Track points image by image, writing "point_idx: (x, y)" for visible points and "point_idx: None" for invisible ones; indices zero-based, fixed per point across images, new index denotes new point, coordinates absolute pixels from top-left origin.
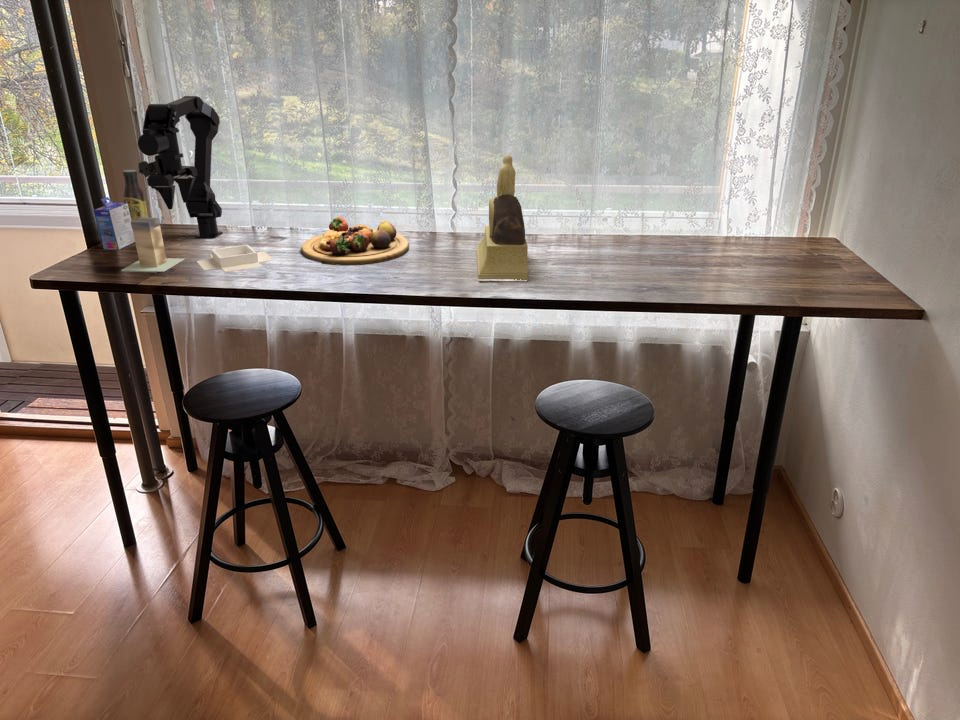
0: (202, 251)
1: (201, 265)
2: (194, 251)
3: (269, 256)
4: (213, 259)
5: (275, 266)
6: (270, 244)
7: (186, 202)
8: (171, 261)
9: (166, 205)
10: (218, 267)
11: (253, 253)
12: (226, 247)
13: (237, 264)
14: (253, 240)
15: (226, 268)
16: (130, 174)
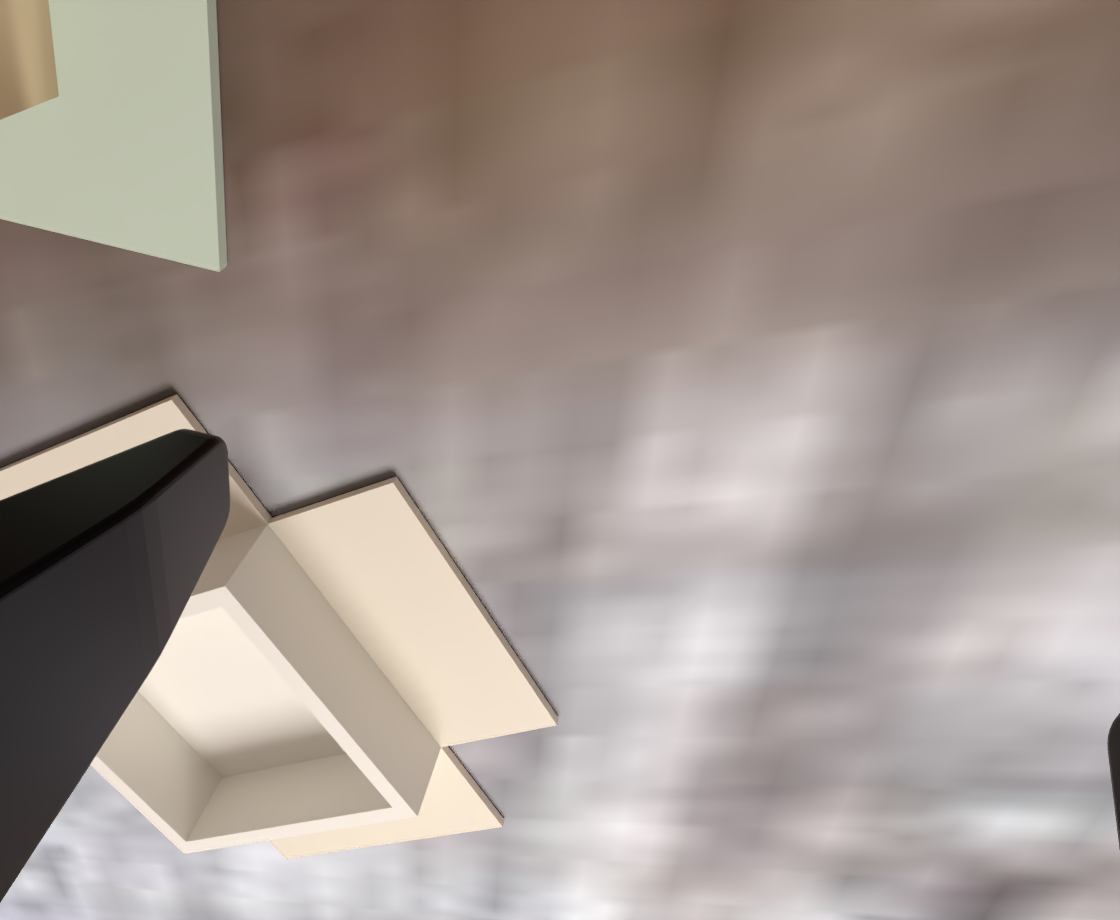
0: (583, 386)
1: (49, 463)
2: (592, 299)
3: (363, 844)
4: (243, 532)
5: (174, 848)
6: (752, 860)
7: (1110, 732)
8: (87, 148)
9: (82, 469)
10: None
11: (168, 836)
12: (311, 691)
13: None
14: (948, 772)
15: None
16: None
